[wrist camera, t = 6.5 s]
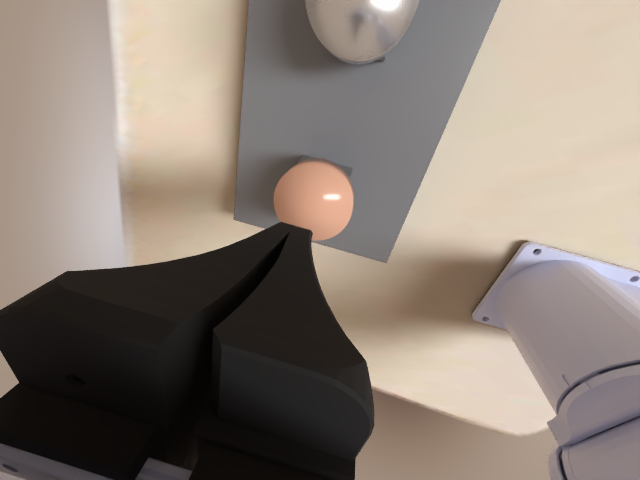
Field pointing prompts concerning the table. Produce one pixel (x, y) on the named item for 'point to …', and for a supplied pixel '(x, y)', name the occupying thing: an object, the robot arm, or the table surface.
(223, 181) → the table surface
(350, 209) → the peach knob
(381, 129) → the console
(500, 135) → the table surface
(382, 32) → the steel plunger
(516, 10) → the table surface
